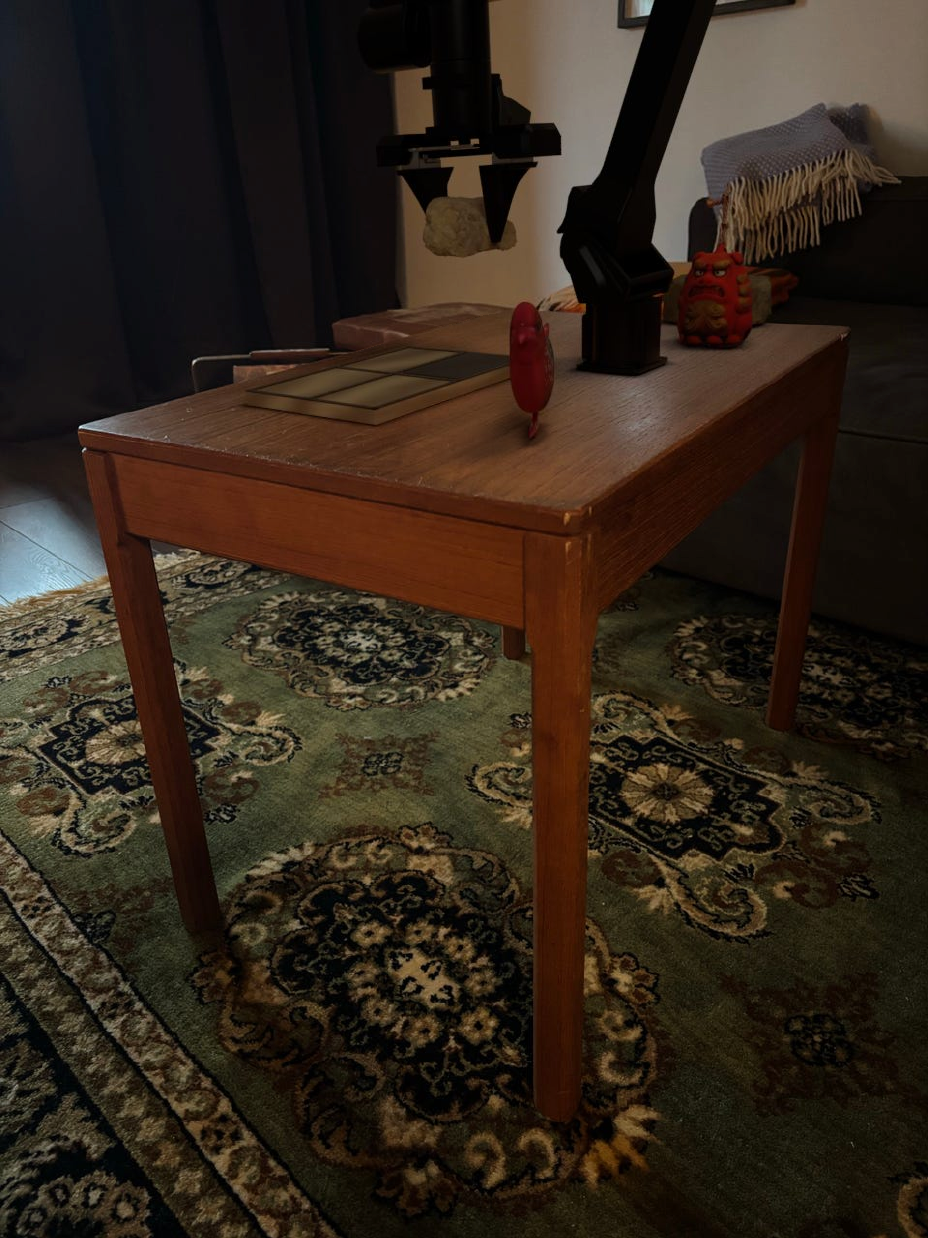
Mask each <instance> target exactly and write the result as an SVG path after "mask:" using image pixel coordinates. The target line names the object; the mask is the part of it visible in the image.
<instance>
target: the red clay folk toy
mask: <svg viewBox="0 0 928 1238" xmlns="http://www.w3.org/2000/svg"><path fill="white" fill-rule="evenodd" d="M731 193H732V191H731V182H726V191H724V192H723V193H722V197H721V199H713V198H712V197H709V198H707V199H705V202H706V206H705V208H706V209H707V210H708V209H709V210H710V209H711V208H713V207H715V206H720V205H721V206H722V221H721V224H720V226H721V233H720V234H721V235H720V238H719V240H718V244H717V248H716V249H715V250H714V251H713V252H711V253H708V252H704V251H699V252H697V253H695V255H694V256H693V257H692V261H691V266H690V269H689V271H688V272H687V273H686V274H687V276H686V278H685V281H684V284H683V286H682V288H681V289H680V294H679V299H678V310H679V315H678V320H677V323H676V328H677V329H676V330H677V332H678V340H679V342H680V343H681V344H682V345H683V344H686V345H695V346H697V345H704V346H709V347H711V348H731V347H738V346H739V347H740V344H741V343H743V342H745V341H746V340H747V338H748V337H749V335H750V334H751V332H752V330H753V325H754V324H753V314H752V303H753V296H752V289H751V284H750V280H749V277H748V275H749V274H748V272H747V270H746V267H745V265H744V263H743V261H744V258H743V253H741V252H739V251H733V252H728V249H727V236H726V235H727V234H726V232H727V230H728V229H729V228H730V226H729V225H730V224H729V222H728V220H727V217H728V213H729V204H730V195H731Z"/></svg>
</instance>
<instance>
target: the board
mask: <svg viewBox="0 0 928 1238" xmlns="http://www.w3.org/2000/svg"><path fill="white" fill-rule="evenodd" d="M509 379H510V354H502V353H491V352H490V353H489V352H480V351H479V352H478V351H470V350H469V351H467V350H458V349H447V348H435V347H424V346H414V345H406V346H403V347H399V348H395V349H391V350H387V351H384V352H381V353H377V354H373V355H370V356H366V357H363V358H358V359H354V360H350V361H348V362H344V363H340V364H337V365H336V364H335V365H333V366H329V367H325V368H322V369H318V370H315V371H311V372H308V373H304V374H300V375H297V376H292V377H288V378H285V379H282V380H278V381H275V382H271V383H267V384H262V385H259V386H256V387H252V388H249V389H245V396H246V402H247V403H246V404H247V406H251V407H257V408H264V409H270V410H277V411H283V412H289V413H296V414H302V415H309V416H315V417H322V418H328V419H334V420H335V419H336V420H340V421H341V420H342V421H347V422H355V423H361V424H367V425H372V426H373V425H374V426H378V425H381V424H383V423H386V422H389V421H392V420H395V419H398V418H400V417H403V416H406V415H409V414H412V413H414V412H418V411H420V410H423V409H426V408H429V407H432V406H435V405H437V404H440V403H443V402H445V401H449V400H451V399H454V398H457V397H461V396H463V395H466V394H468V393H471V392H474V391H477V390H480V389H483V388H486V387H488V386H492V385H494V384H497V383H500V382H503V381H506V380H509Z"/></svg>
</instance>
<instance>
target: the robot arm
mask: <svg viewBox="0 0 928 1238" xmlns="http://www.w3.org/2000/svg"><path fill="white" fill-rule="evenodd" d="M499 1H501V0H368V4H369V7H367V8H366V10H364V12H363V13H362V15H361V18H360V20H359V23H358V30H357V32H356V41H357V47H358V51H359V54H360V57H361V59H362V60H363V62H364V64H365V66H367V68H368V69H369V70H370V71H372V72H373V73H375V74H377V75H381V74H382V75H384V74H391V73H398V72H404V71H411V70H412V71H413V70H419V69H426V68H428V67H429V73H430V74H429V75H430V76H423V77H421V87H422V91H431V106H432V116H433V117H432V120H433V126H432V125H431V126H425V127H424V129H425V131H424V132H425V133H404V134H403V133H402V134H401V133H400V134H390V135H381V136H380V137H379V139H378V141H377V143H376V145H375V158H376V159H375V160H376V167H377V168H384V167H385V168H387V167H400V169H397V170H395V173H396V176H397V177H402V178H403V180H404V181H405V183H406V184H407V186H408V187H409V189H410V192H411V193H412V194H413V196H414V198H415V199H416V200H417V202H418V204H419V205H420V208H421V209H422V211H423V213H424V215H425V216H426V214H425V213H426V211H427V207H428V205H429V204H430V203H431V202H432V200H433V199H434V198H438V197H447V196H449V191H448V185H449V181H450V180H451V177H452V174H453V171H454V169H455V166H442V159H444V158H445V159H446V158H447V159H448V158H459V157H460V158H462V157H463V158H464V157H475V156H490V155H491V164H479V165H478V172H479V179H480V186H481V191H482V197H483V199H484V206H485V212H486V219H487V226H488V230H489V234H490V238H491V242H492V243H499V242H501V239H502V236H503V232H504V229H505V225H506V222H507V220H508V218H509V214H510V210H511V208H512V207H511V206H512V204H513V201H514V197H515V194H516V192H517V190H518V187H519V184H520V182H521V181H522V180H523V178H524V177H525V175H526V174H527V172H529V170H531V169H535V168H537V166H538V164H539V161H534V158H542V157H557V156H562V135H561V133H560V130H559V129H558V127H557V126H556V124H555V122H531V118H532V111H531V110H530V109H528V108H527V107H526V106H524V105H523V104H521V103H520V102H518V101H517V100H515V99H514V98H512V97H510V96H506V95H505V94H504V90H503V80H502V79H501V73H497V72H496V73H495V72H493V71H492V70H493V69H492V50H491V49H492V48H491V47H492V45H491V25H490V24H491V23H490V21H491V20H490V3H494V2H499ZM717 3H718V0H653V2H652V5H651V8H650V12H649V14H648V15H649V16H648V18H647V22H646V25H645V28H644V32H643V35H642V38H641V41H640V45H639V47H638V51H637V54H636V58H635V61H634V63H633V67H632V70H631V74H630V77H629V80H628V82H627V87H626V90H625V93H624V96H623V100H622V103H621V106H620V109H619V113H618V116H617V119H616V123H615V125H614V129H613V132H612V136H611V139H610V142H609V144H608V145H609V146H608V149H607V152H606V155H605V158H604V161H603V164H602V166H601V167H602V168H601V170H600V171H599V174H598V175H597V176H596V177H595V178H594V180H593V181H592V183H591V184H582V185H573V186H572V187H571V189H570V191H569V194H568V196H567V202H566V209H565V213H564V216H563V219H562V221H561V224H560V225H559V227H558V228H557V229H556V234H557V235H560V234H561V237H560V242H559V247H558V248H559V259H561V260H562V263H563V266H564V268H565V270H566V271H567V273H568V274H569V277H570V280H571V284H572V287H573V290H574V294H575V297H576V300H577V303H578V304H581V305H585V313H583V314H582V315H581V325H580V326H581V331H580V332H581V334H580V335H581V337H580V340H581V342H580V343H581V345H580V348H581V350H580V351H581V352H580V356H581V357H580V358H581V359H582V360H583V361H579V362H577V363H576V365H575V366H576V369H577V370H584V371H593V372H603V373H615V374H625V375H639V374H642V373H645V372H647V371H650V370H652V369H654V368H656V367H659V366H661V365H664V364H667V363H668V360H669V359H668V356H663V355H661V338H662V337H661V336H662V315H663V297H662V296H657V295H663V294H664V295H665V293H667V292H668V290H669V287H670V285H671V282H672V279H673V278H674V277H675V270H674V268H673V266H672V265H671V264H670V263H669V262H668V261H667V259H666V258H665V257H664V255H663V254H662V253H661V252H660V251H659V249H658V248H657V247H656V246H655V245H654V244H653V239H654V238H653V237H654V232H655V227H656V222H657V203H656V190H655V188H656V181H657V178H658V175H659V172H660V170H661V169H660V168H661V166H662V162H663V159H664V157H665V154H666V151H667V147H668V146H669V143H670V139H671V137H672V134H673V130H674V128H675V124H676V122H677V119H678V116H679V112H680V110H681V107H682V105H683V101H684V98H685V95H686V93H687V90H688V86H689V84H690V81H691V78H692V75H693V72H694V69H695V66H696V64H697V61H698V57H699V54H700V52H701V48H702V47H703V43H704V40H705V38H706V34H707V31H708V29H709V25H710V23H711V20H712V19H711V18H712V16H713V14H714V11H715V7H716V5H717ZM472 140H478V143H472ZM452 142H458V144H454V145H452Z"/></svg>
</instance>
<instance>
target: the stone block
mask: <svg viewBox="0 0 928 1238" xmlns="http://www.w3.org/2000/svg"><path fill="white" fill-rule="evenodd" d="M687 274H688V273H686V274H680V275H678V276H676V277H673V279H672V282H671V285H670V287H669V290H668V292H667V293H664V296H663V303H662V316H663V317H662V318H664V320H665V322H668V323H669V322H670V323H676V324H677V320H678V315H679V310H678V299H679V294H680V289H681V288H682V286H683V284H684V281H685V278H686V276H687ZM748 277H749V280H750V284H751V289H752V296H753V303H752V314H753V325H760V324H763V323H765V322H766V320H767V318H768V317H771V316H772V293H773V292H772V282H771V276H769V275H753V274H748Z"/></svg>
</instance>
